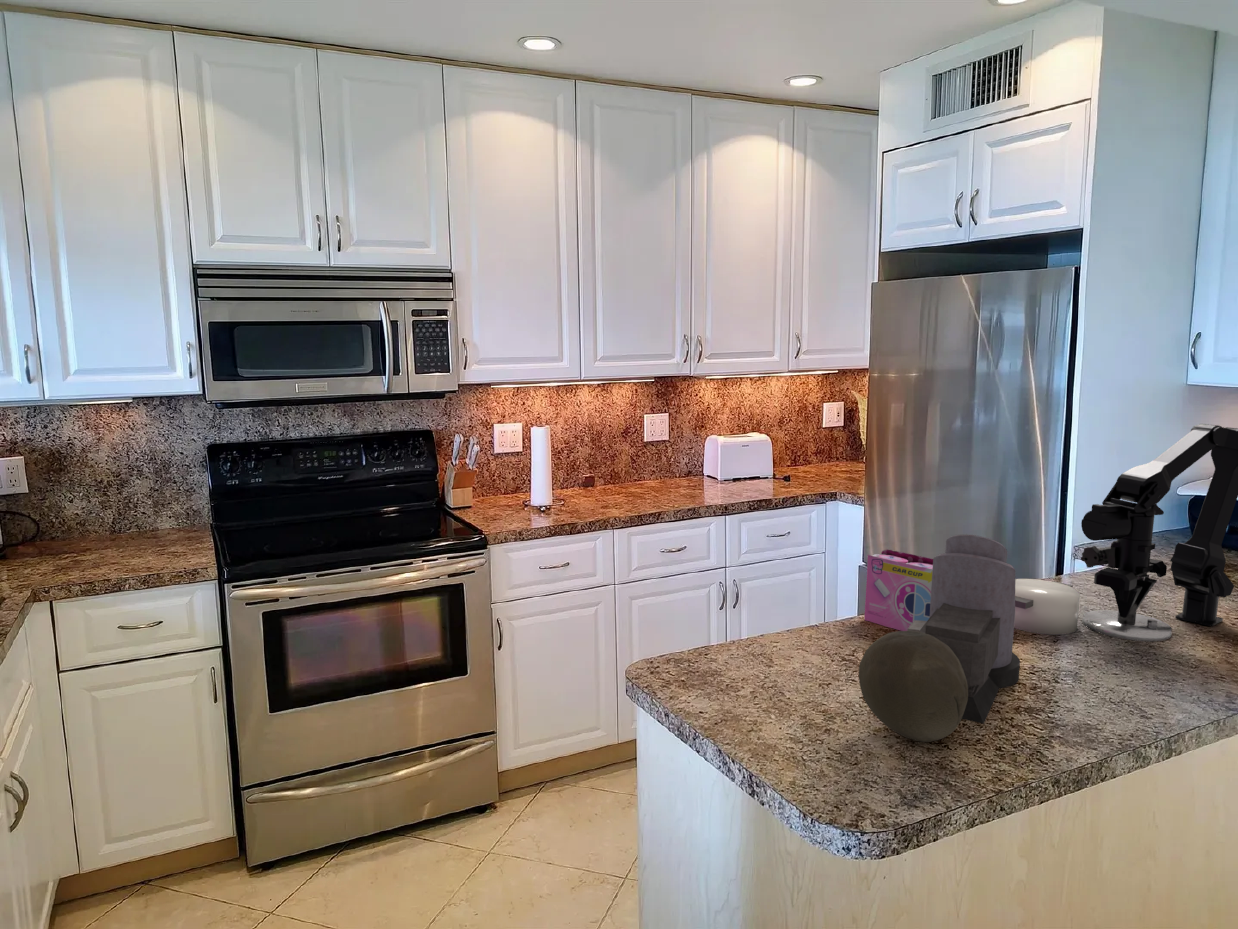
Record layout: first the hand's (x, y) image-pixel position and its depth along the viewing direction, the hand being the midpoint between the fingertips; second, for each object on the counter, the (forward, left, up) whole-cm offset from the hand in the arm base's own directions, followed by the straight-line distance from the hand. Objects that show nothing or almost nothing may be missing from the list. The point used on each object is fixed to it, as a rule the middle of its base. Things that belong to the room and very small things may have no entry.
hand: (1126, 615), depth 166 cm
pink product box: (+33, -23, -3) cm, 40 cm away
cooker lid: (0, 0, -2) cm, 2 cm away
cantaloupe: (+75, +1, -3) cm, 75 cm away
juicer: (+51, -5, -3) cm, 51 cm away
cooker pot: (+11, -12, -2) cm, 16 cm away
